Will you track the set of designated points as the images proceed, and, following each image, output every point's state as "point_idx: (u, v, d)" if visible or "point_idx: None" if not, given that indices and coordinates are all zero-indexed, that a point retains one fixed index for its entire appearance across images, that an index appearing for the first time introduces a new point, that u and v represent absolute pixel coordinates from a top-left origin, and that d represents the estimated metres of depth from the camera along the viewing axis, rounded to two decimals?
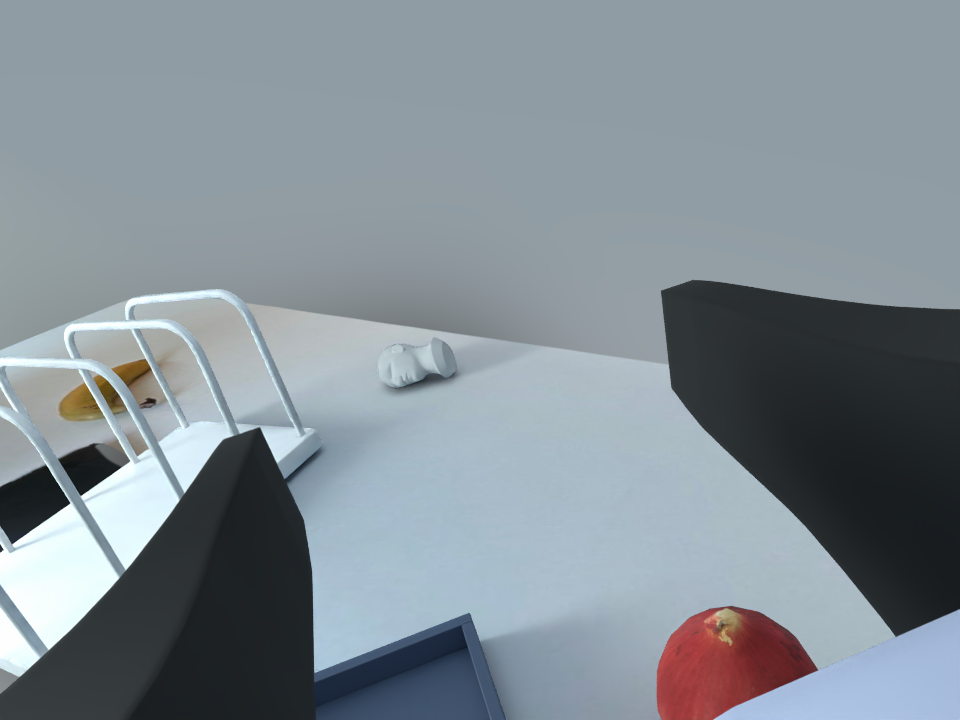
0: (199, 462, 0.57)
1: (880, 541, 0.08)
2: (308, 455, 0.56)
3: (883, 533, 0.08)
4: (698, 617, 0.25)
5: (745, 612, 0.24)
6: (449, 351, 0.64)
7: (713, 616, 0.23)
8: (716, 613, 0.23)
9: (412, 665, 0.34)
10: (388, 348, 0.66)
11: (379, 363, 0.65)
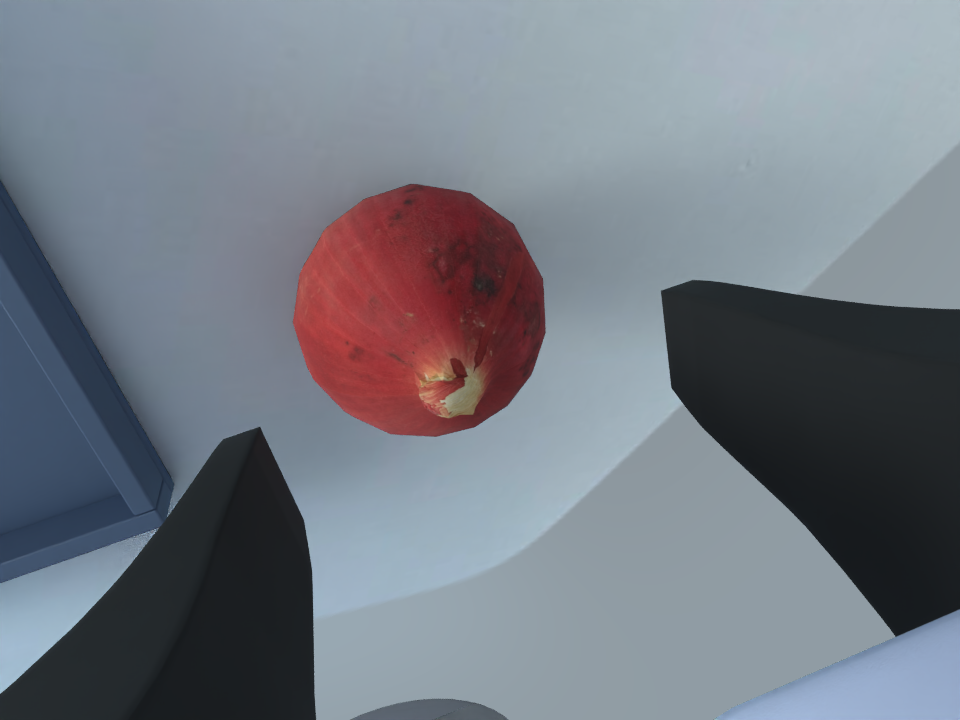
0: None
1: (880, 541, 0.08)
2: None
3: (882, 533, 0.08)
4: (409, 312, 0.13)
5: (492, 333, 0.13)
6: None
7: (438, 402, 0.13)
8: (446, 399, 0.13)
9: None
10: None
11: None
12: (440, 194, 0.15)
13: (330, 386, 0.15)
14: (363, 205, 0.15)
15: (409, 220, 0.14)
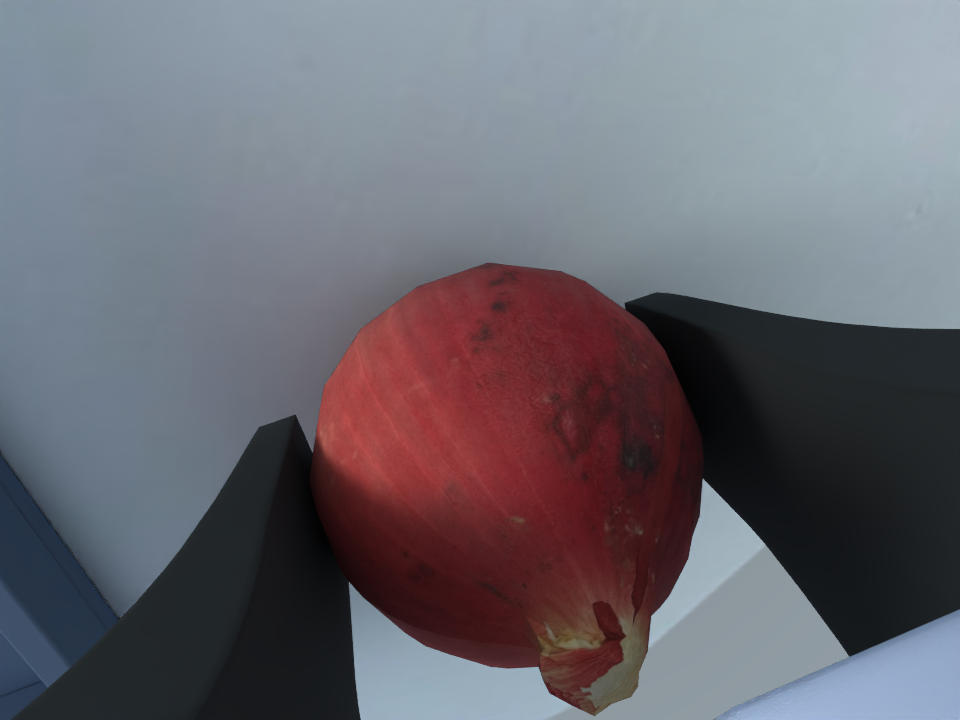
0: None
1: (832, 561, 0.08)
2: None
3: (833, 554, 0.08)
4: (517, 516, 0.08)
5: (654, 543, 0.08)
6: None
7: (578, 692, 0.07)
8: (592, 686, 0.07)
9: None
10: None
11: None
12: (545, 288, 0.09)
13: (371, 599, 0.09)
14: (423, 306, 0.09)
15: (505, 343, 0.08)
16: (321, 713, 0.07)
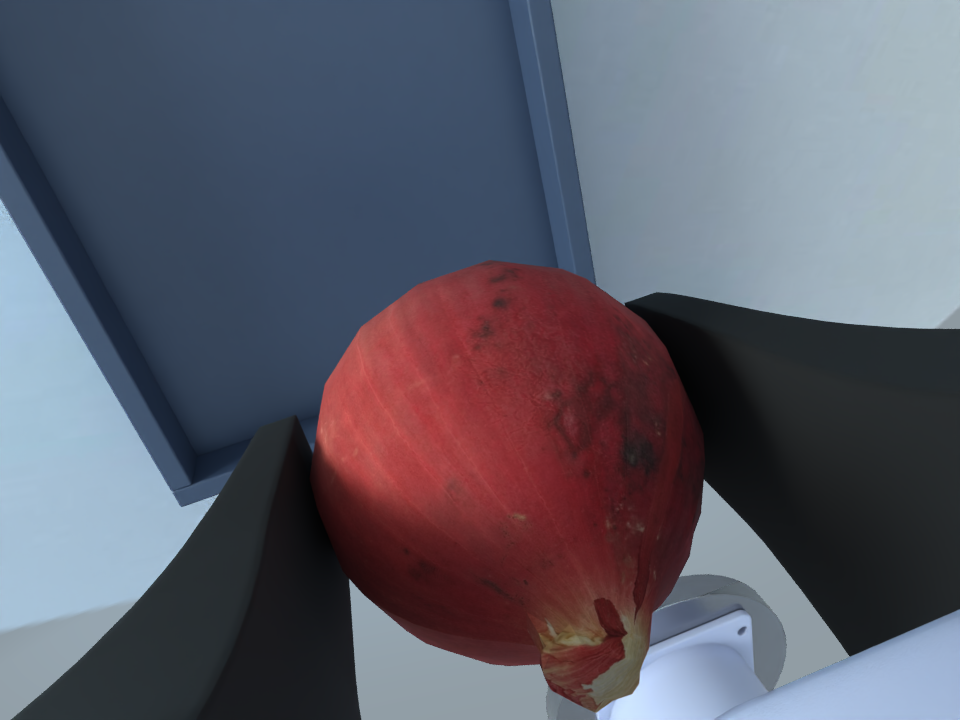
0: None
1: (832, 561, 0.08)
2: None
3: (834, 553, 0.08)
4: (518, 513, 0.08)
5: (655, 540, 0.08)
6: None
7: (580, 689, 0.07)
8: (593, 683, 0.07)
9: None
10: None
11: None
12: (546, 285, 0.09)
13: (372, 597, 0.09)
14: (424, 303, 0.09)
15: (506, 339, 0.08)
16: (322, 713, 0.07)
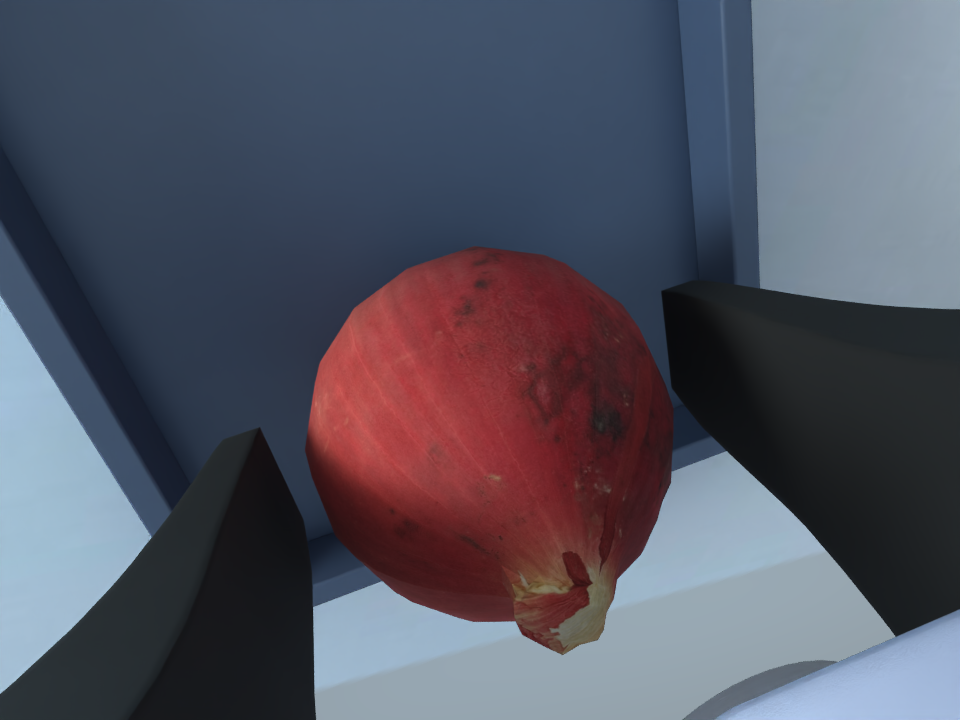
0: None
1: (880, 541, 0.08)
2: None
3: (883, 533, 0.08)
4: (494, 473, 0.08)
5: (621, 501, 0.08)
6: None
7: (548, 632, 0.08)
8: (560, 627, 0.08)
9: None
10: None
11: None
12: (525, 268, 0.10)
13: (362, 557, 0.10)
14: (411, 285, 0.10)
15: (486, 316, 0.09)
16: None
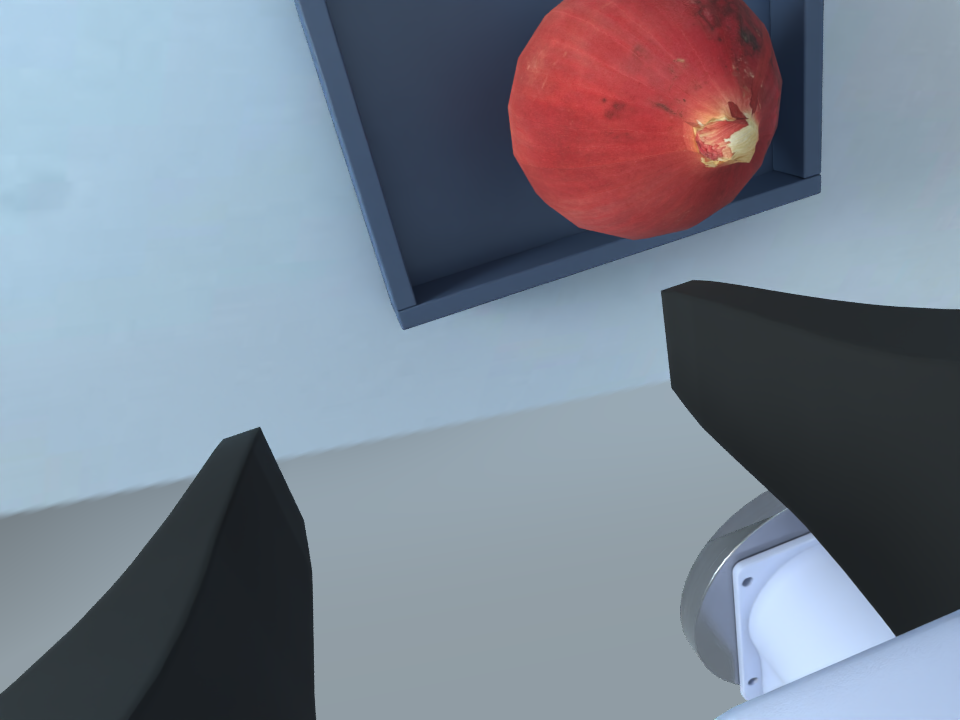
0: None
1: (880, 541, 0.08)
2: None
3: (883, 534, 0.08)
4: (679, 58, 0.12)
5: (760, 86, 0.13)
6: None
7: (722, 142, 0.12)
8: (730, 137, 0.12)
9: None
10: None
11: None
12: None
13: (567, 163, 0.14)
14: None
15: None
16: None
